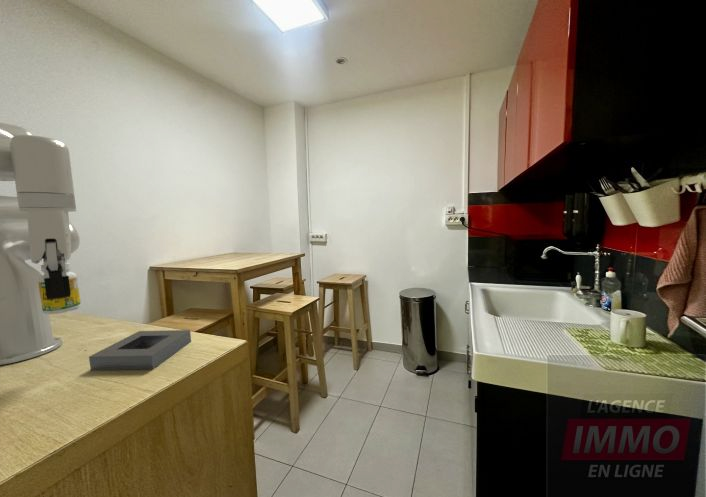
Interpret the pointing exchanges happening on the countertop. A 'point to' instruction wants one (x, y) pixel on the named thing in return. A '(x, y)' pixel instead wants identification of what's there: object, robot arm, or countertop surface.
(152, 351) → the square hole block
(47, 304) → the supplement bottle
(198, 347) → the countertop surface
